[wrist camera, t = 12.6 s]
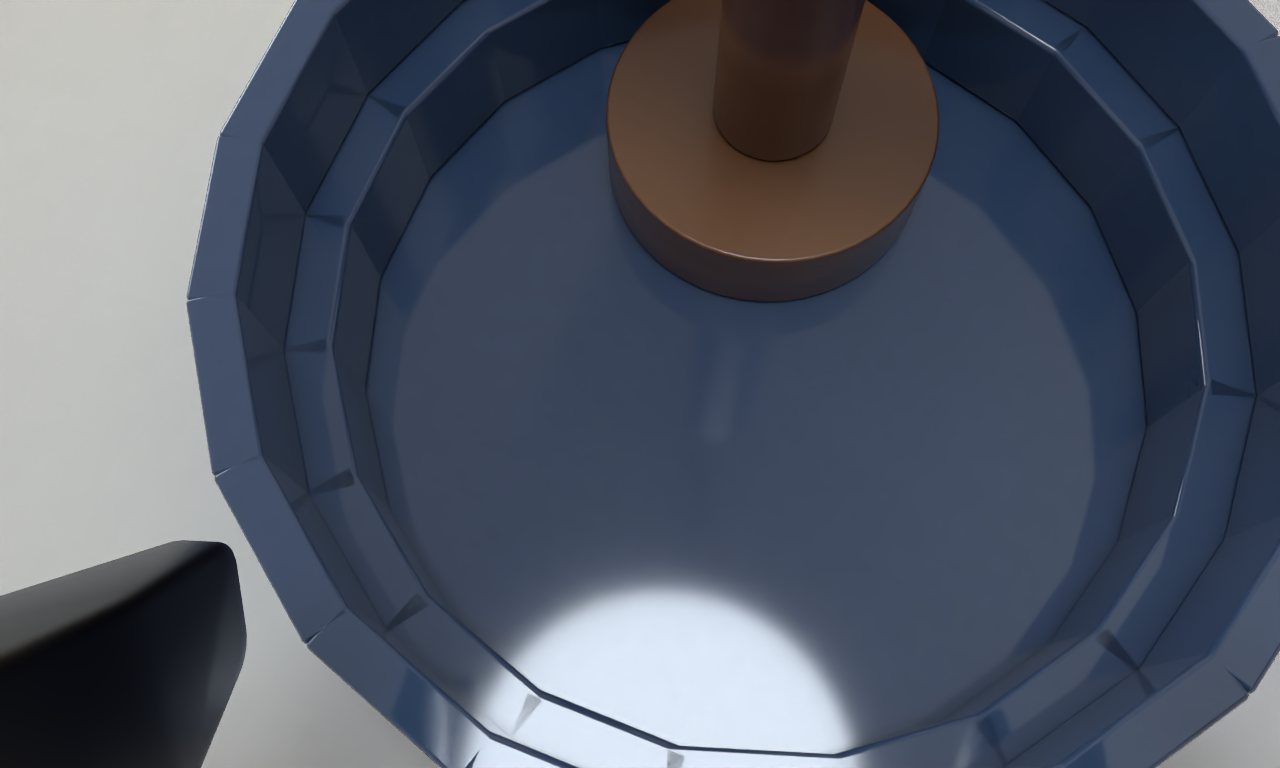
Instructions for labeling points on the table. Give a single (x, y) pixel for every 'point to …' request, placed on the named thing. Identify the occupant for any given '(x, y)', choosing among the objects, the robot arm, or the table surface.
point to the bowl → (758, 400)
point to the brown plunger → (769, 141)
